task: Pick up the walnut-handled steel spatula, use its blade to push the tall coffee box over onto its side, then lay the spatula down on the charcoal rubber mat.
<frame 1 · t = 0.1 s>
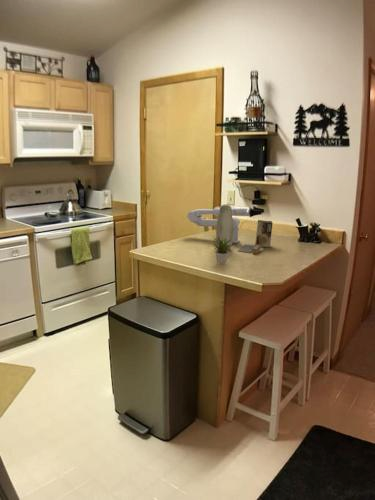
hand: (262, 211, 259), 22 cm above the worktop, tool horizontal, fingers open, 7 cm apart
house plant: (218, 263, 220), on the worktop
coffee box: (262, 246, 260), on the worktop, touching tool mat
grey rounded cylinder: (223, 249, 249), on the worktop
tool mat: (247, 248, 253), on the worktop
spatula: (257, 251, 246), on the worktop
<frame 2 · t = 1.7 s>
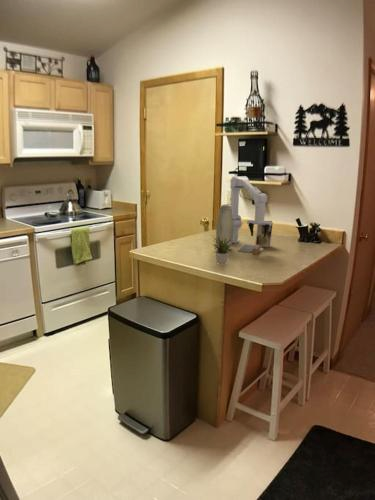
hand: (258, 236, 244), 10 cm above the worktop, tool pointing down, fingers open, 7 cm apart
nothing on the worktop moved.
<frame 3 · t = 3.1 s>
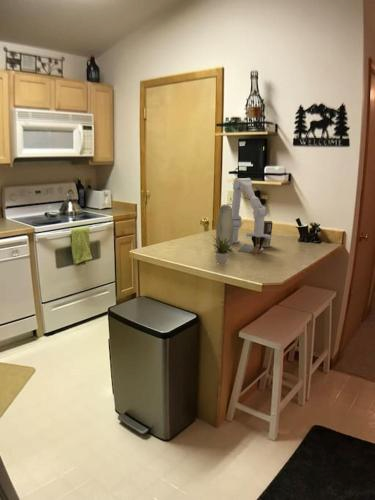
hand: (257, 248, 246), 2 cm above the worktop, tool pointing down, fingers closed on spatula, 2 cm apart
spatula: (257, 251, 246), on the worktop, touching gripper
everything else where it was.
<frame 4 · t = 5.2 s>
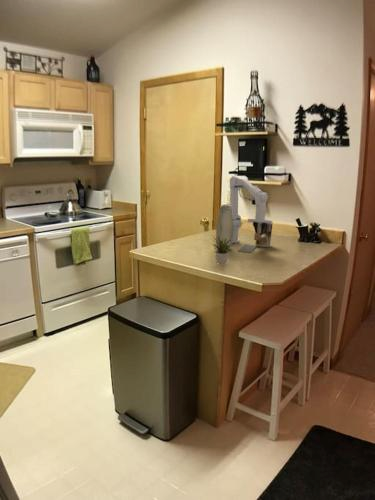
hand: (258, 234, 245), 10 cm above the worktop, tool pointing down, fingers closed on spatula, 2 cm apart
spatula: (258, 237, 246), point 8 cm above the worktop, touching gripper
everything else where it was.
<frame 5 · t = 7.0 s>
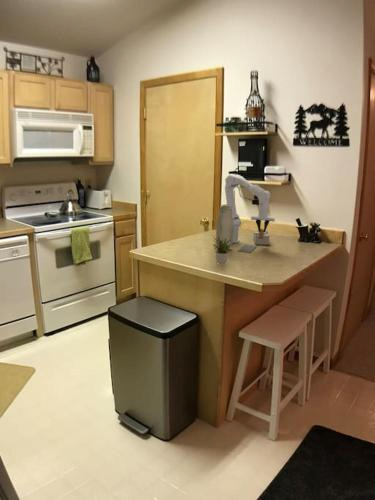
hand: (261, 231, 254), 10 cm above the worktop, tool pointing down, fingers closed on spatula, 3 cm apart
coffee box: (262, 240, 262), point 3 cm above the worktop
spatula: (261, 234, 254), point 8 cm above the worktop, tilted 9°, touching gripper
everything else where it was.
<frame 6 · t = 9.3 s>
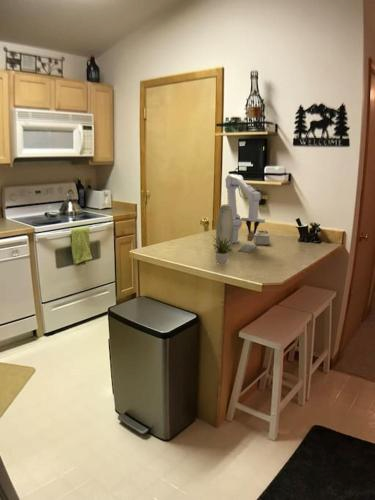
hand: (252, 233, 249), 10 cm above the worktop, tool pointing down, fingers closed on spatula, 2 cm apart
spatula: (251, 236, 250), point 8 cm above the worktop, tilted 9°, touching gripper
everything else where it was.
when the fingers open (4 cm above the worktop, at t = 11.0 s): spatula stays where it is, resting on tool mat.
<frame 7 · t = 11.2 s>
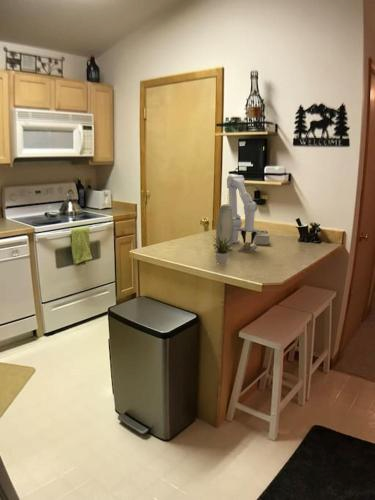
hand: (248, 243, 252), 4 cm above the worktop, tool pointing down, fingers open, 4 cm apart
spatula: (247, 247, 253), resting on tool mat
everything else where it was.
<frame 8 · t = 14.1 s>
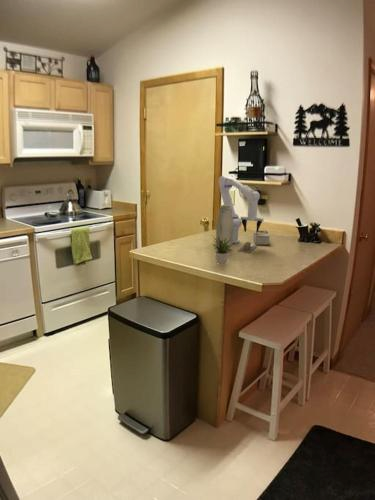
hand: (251, 231, 257), 9 cm above the worktop, tool pointing down, fingers open, 7 cm apart
nothing on the worktop moved.
at the end: coffee box tilted 90°; spatula inside the target area on the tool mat (0.3 cm from its centre), point 0.4 cm above the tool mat's base; the gripper is holding nothing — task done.
